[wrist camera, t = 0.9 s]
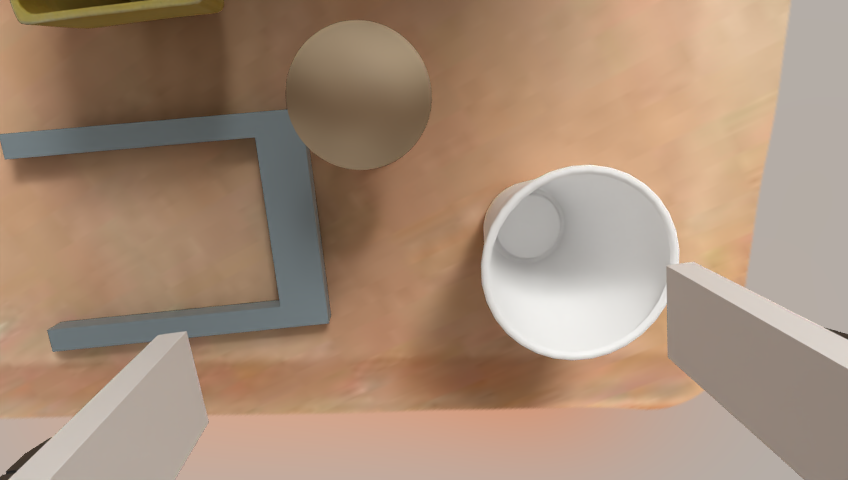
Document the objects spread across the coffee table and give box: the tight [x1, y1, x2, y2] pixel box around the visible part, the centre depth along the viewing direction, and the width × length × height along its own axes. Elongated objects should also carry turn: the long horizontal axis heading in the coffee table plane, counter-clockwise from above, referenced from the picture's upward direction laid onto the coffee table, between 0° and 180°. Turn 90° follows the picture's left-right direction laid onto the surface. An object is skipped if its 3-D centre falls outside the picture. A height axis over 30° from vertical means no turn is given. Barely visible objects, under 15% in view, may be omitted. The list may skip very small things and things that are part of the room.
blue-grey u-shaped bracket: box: [0, 109, 331, 352], centre depth 35 cm, size 18×14×2 cm
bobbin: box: [286, 20, 432, 170], centre depth 31 cm, size 7×7×9 cm
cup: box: [481, 165, 679, 360], centre depth 32 cm, size 10×10×11 cm
